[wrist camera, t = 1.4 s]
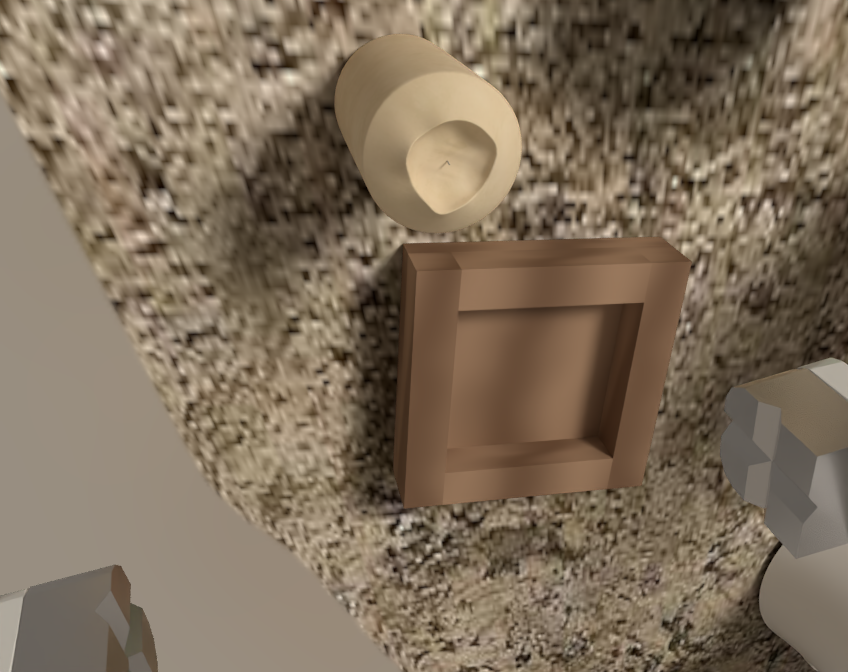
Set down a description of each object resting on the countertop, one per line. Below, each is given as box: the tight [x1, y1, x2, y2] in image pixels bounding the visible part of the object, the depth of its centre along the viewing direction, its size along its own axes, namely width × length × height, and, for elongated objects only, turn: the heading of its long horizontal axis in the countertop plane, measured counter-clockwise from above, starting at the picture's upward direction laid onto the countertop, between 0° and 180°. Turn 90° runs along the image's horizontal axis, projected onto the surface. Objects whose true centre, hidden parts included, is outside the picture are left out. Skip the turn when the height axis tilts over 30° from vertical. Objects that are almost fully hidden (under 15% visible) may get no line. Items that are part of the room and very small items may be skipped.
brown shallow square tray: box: [393, 237, 692, 508], centre depth 41 cm, size 13×13×3 cm
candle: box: [334, 34, 522, 233], centre depth 30 cm, size 6×6×10 cm
